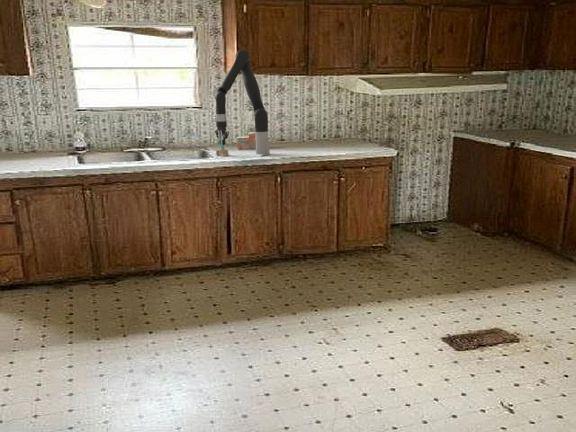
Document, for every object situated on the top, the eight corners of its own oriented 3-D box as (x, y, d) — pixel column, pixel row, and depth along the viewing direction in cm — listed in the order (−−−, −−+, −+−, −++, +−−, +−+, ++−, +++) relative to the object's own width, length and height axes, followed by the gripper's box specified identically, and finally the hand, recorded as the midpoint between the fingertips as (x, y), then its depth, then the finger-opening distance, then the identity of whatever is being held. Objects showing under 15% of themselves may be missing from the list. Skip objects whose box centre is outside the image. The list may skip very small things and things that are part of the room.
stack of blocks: (237, 149, 429) (236, 133, 426) (237, 148, 435) (236, 132, 432) (265, 148, 431) (264, 132, 427) (264, 147, 437) (264, 131, 433)
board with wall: (223, 155, 405) (223, 149, 403) (231, 157, 399) (231, 150, 398) (216, 157, 400) (215, 150, 398) (224, 158, 394) (223, 151, 393)
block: (223, 154, 403) (223, 149, 402) (228, 155, 400) (228, 149, 398) (218, 155, 399) (217, 150, 398) (222, 156, 396) (222, 150, 395)
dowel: (222, 148, 399) (222, 135, 397) (224, 148, 398) (224, 136, 396) (220, 148, 398) (219, 136, 395) (222, 149, 397) (222, 136, 394)
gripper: (231, 120, 390) (233, 144, 395) (218, 119, 399) (220, 143, 404) (223, 121, 385) (225, 146, 390) (210, 120, 394) (212, 144, 399)
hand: (222, 144), depth 397 cm, fingers closed on dowel, 2 cm apart
